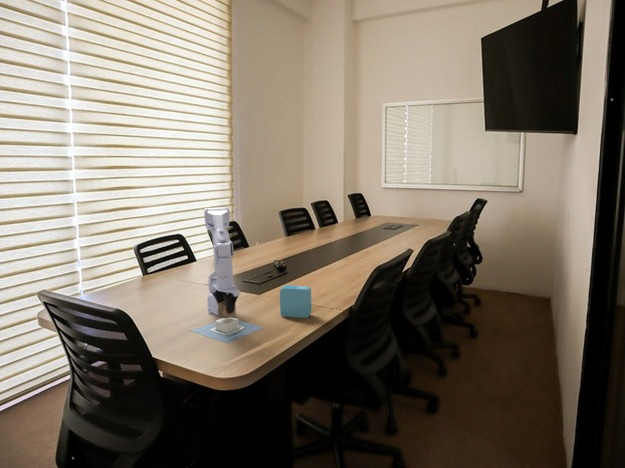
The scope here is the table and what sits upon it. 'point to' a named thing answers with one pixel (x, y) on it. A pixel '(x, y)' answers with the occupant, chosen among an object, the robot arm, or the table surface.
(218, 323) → the base block
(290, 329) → the table surface
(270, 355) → the table surface
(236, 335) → the blueprint board
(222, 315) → the walnut block
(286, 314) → the data package
